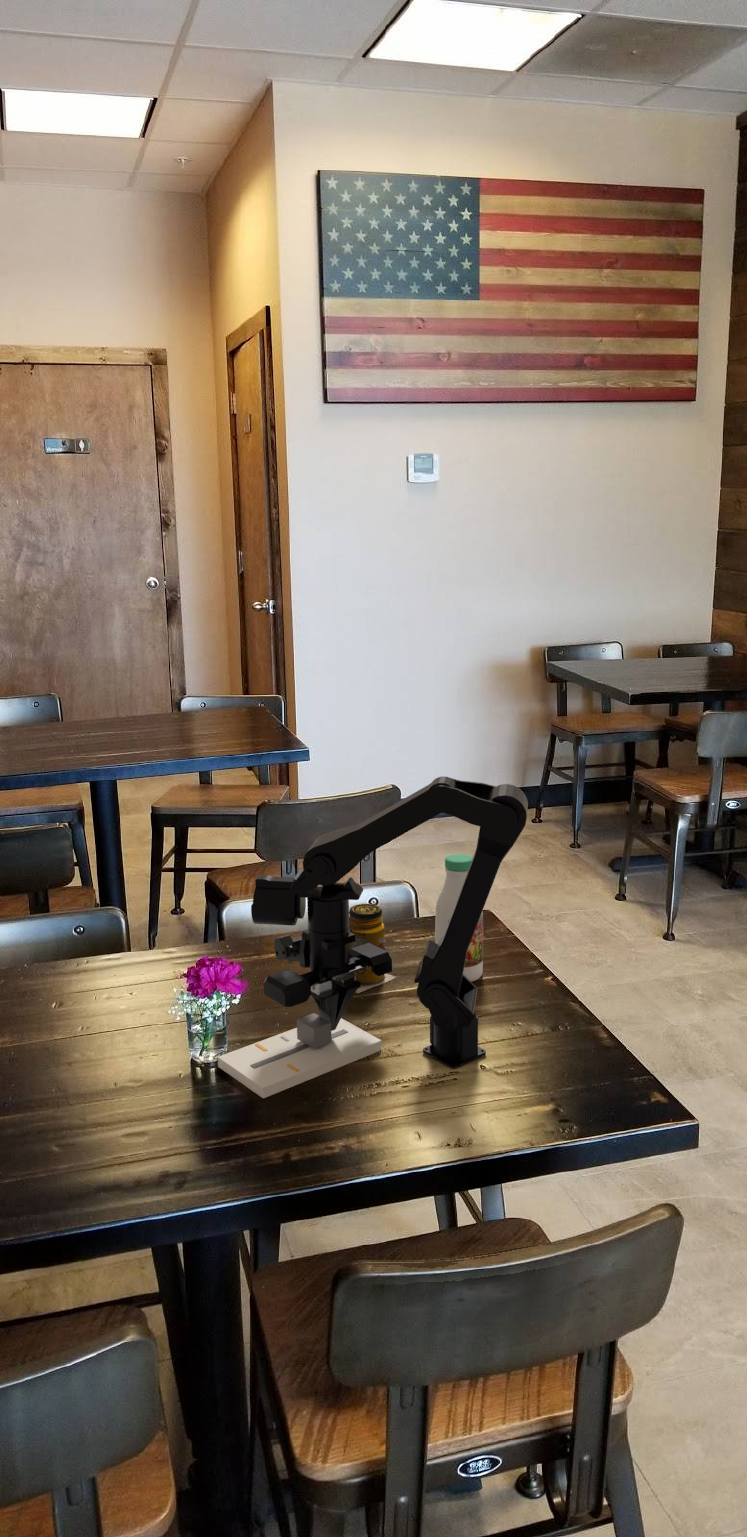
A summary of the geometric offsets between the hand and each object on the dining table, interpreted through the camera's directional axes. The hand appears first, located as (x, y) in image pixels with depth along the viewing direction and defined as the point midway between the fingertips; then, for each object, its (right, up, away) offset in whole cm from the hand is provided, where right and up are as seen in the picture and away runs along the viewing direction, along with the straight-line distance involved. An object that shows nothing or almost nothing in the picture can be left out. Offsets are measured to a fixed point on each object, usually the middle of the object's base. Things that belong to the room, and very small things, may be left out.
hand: (331, 1029), depth 160 cm
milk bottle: (+20, +3, +24) cm, 31 cm away
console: (-4, -3, -3) cm, 6 cm away
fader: (-2, -1, -2) cm, 3 cm away
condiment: (+4, +3, +23) cm, 23 cm away
